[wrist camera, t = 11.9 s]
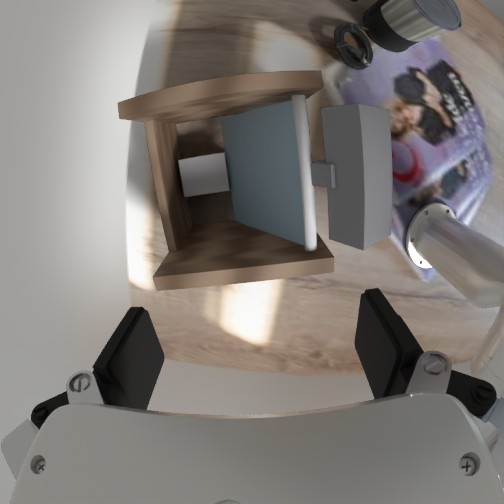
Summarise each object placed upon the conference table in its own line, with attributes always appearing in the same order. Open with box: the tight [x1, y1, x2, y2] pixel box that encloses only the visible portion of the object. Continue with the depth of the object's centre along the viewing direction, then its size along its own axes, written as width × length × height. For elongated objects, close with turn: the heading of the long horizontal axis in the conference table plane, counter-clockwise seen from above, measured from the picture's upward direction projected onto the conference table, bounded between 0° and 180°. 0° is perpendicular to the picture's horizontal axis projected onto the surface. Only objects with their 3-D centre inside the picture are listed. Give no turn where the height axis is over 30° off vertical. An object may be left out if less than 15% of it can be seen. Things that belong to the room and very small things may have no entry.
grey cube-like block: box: [178, 152, 230, 197], centre depth 36 cm, size 5×5×6 cm
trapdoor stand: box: [118, 71, 334, 291], centre depth 30 cm, size 18×19×16 cm
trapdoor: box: [221, 95, 392, 251], centre depth 28 cm, size 20×15×6 cm
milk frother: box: [334, 0, 462, 70], centre depth 22 cm, size 14×16×15 cm
